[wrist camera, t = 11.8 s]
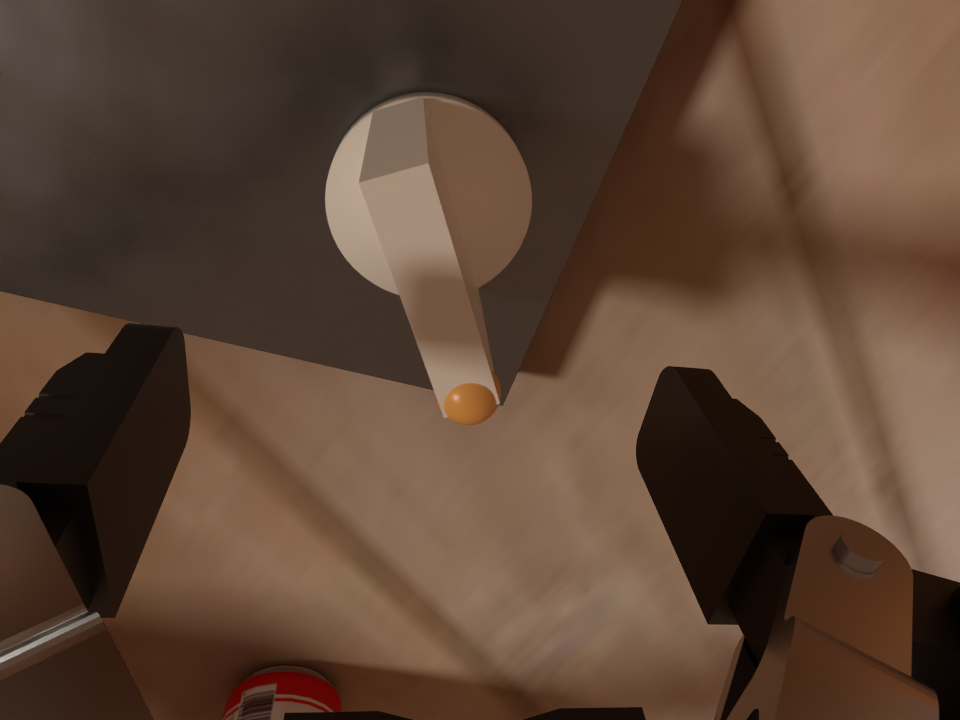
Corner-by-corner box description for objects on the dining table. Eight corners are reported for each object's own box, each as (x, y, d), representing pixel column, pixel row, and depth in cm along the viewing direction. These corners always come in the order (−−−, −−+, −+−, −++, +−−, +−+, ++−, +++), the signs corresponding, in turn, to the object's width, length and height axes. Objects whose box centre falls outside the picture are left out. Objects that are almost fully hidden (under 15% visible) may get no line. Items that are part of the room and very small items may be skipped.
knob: (296, 125, 19) (242, 220, 13) (502, 65, 18) (548, 134, 12) (374, 320, 22) (360, 467, 16) (547, 274, 22) (600, 406, 16)
